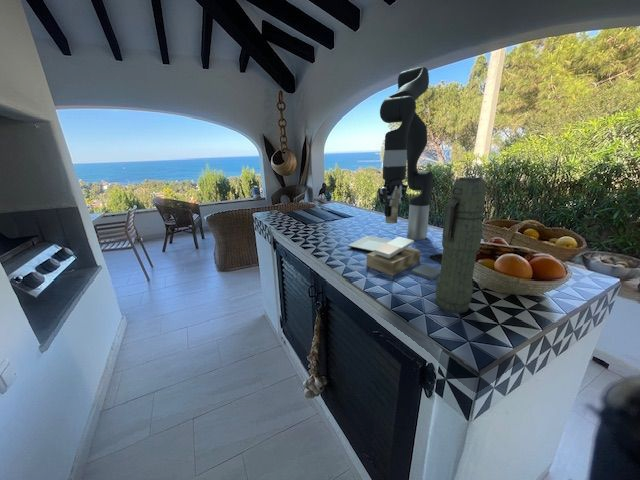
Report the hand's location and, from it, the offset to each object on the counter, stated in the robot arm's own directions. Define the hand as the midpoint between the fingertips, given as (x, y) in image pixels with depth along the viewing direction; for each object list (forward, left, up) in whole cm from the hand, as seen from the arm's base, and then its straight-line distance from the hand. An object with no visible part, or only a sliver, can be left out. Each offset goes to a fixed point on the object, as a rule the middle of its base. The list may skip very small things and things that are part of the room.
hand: (391, 215), depth 90 cm
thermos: (+7, +27, -21) cm, 34 cm away
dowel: (0, 0, -3) cm, 3 cm away
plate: (-16, -19, -21) cm, 33 cm away
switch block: (-5, -1, -21) cm, 21 cm away
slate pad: (-7, +12, -21) cm, 25 cm away
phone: (-22, +13, -21) cm, 33 cm away
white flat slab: (-5, -1, -13) cm, 14 cm away
